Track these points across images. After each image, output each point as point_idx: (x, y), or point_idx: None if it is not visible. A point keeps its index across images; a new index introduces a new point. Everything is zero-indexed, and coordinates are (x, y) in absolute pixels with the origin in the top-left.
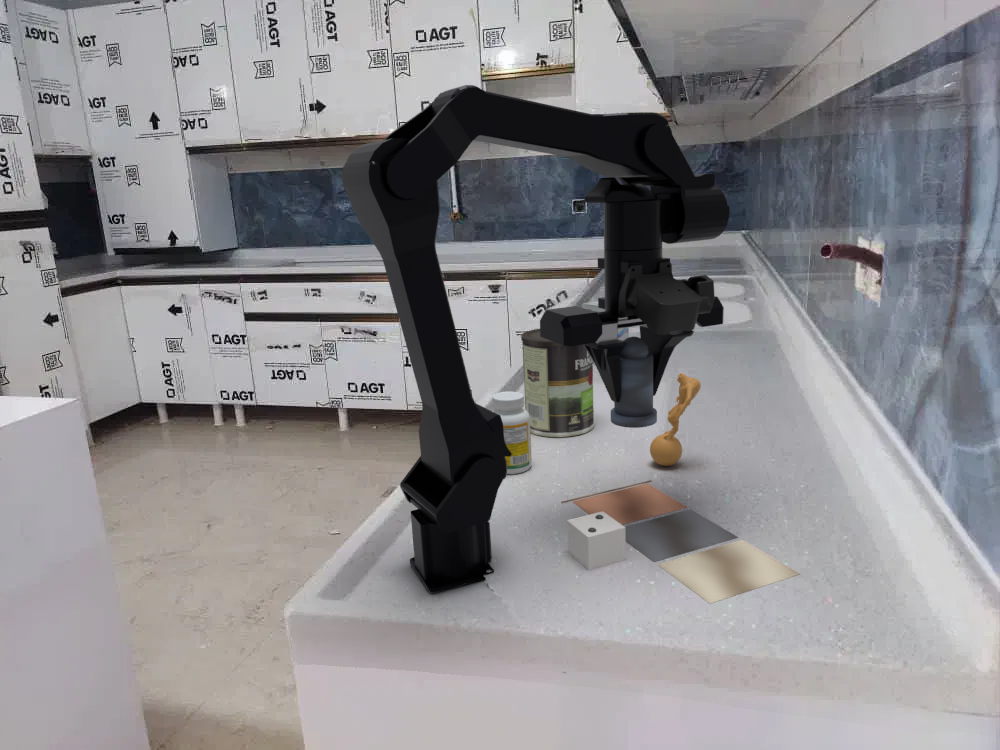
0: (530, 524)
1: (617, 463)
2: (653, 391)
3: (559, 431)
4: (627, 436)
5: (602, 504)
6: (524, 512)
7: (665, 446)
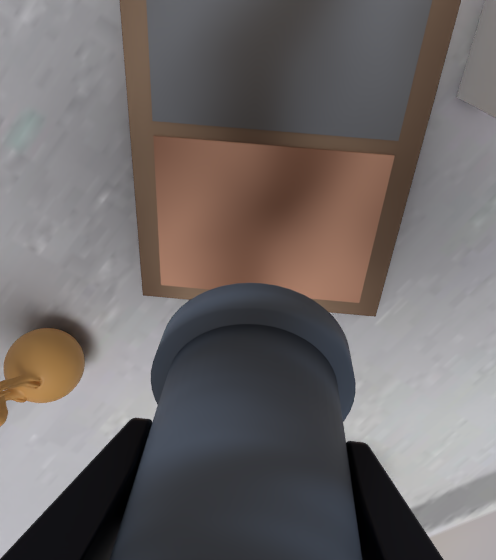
0: (487, 280)
1: (148, 391)
2: (140, 435)
3: None
4: (62, 460)
5: (317, 258)
6: (453, 327)
7: (51, 362)
